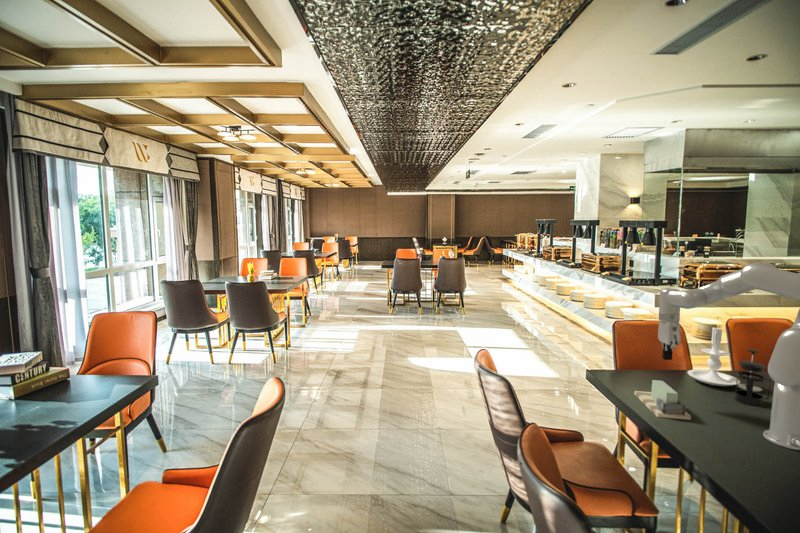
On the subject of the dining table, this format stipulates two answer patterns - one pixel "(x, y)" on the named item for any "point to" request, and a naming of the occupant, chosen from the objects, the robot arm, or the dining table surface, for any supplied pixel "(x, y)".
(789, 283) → the robot arm
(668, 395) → the pale green block
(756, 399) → the french press
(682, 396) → the dining table surface
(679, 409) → the board
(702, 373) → the candlestick
